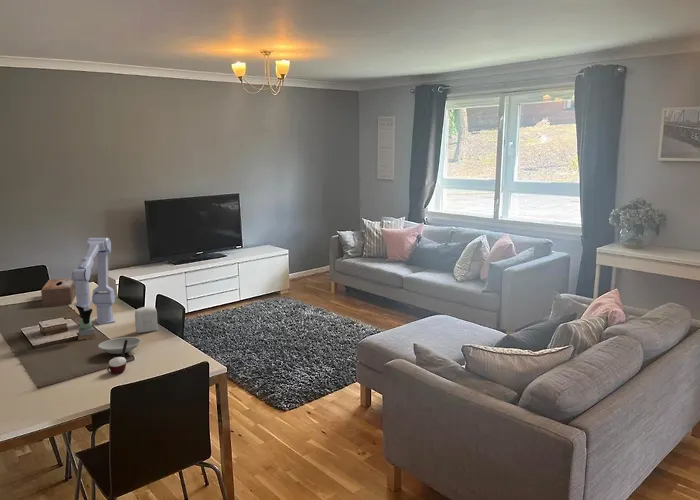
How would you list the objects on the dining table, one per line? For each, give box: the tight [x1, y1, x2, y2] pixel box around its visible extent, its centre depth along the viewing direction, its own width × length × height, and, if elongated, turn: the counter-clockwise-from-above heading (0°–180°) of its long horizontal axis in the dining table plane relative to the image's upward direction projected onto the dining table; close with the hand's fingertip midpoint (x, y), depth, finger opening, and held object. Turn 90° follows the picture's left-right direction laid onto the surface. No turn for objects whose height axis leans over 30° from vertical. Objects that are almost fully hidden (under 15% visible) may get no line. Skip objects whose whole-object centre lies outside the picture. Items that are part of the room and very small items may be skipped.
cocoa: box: [106, 340, 128, 375], centre depth 214 cm, size 10×6×12 cm, turn 126°
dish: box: [97, 336, 143, 355], centre depth 234 cm, size 18×14×5 cm
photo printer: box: [134, 306, 158, 334], centre depth 262 cm, size 10×4×12 cm, turn 123°
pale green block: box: [79, 317, 93, 330], centre depth 253 cm, size 5×5×4 cm
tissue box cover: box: [40, 277, 76, 308], centre depth 315 cm, size 26×14×10 cm, turn 20°
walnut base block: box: [76, 331, 96, 341], centre depth 254 cm, size 7×7×2 cm
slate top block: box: [78, 325, 95, 336], centre depth 253 cm, size 6×6×2 cm
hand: (85, 321), depth 253 cm, fingers open, 7 cm apart
